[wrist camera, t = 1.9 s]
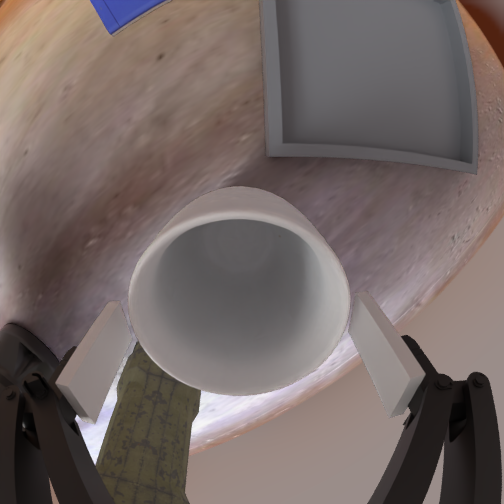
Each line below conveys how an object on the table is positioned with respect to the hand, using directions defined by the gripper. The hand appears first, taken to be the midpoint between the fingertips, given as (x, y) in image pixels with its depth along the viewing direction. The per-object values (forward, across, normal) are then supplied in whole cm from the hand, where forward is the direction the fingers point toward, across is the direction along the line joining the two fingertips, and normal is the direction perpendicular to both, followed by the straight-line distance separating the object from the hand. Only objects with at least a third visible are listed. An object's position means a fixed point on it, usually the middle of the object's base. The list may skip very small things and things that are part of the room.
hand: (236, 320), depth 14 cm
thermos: (+11, -9, -14) cm, 20 cm away
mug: (+12, 0, 0) cm, 12 cm away
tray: (+12, +14, +19) cm, 26 cm away
